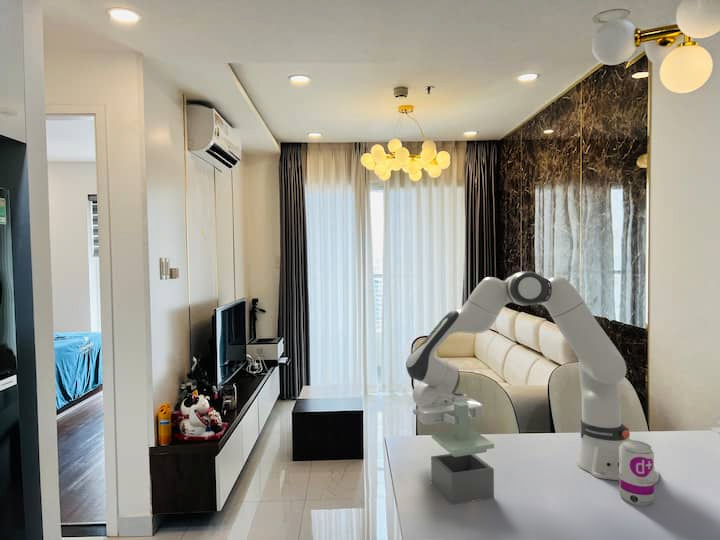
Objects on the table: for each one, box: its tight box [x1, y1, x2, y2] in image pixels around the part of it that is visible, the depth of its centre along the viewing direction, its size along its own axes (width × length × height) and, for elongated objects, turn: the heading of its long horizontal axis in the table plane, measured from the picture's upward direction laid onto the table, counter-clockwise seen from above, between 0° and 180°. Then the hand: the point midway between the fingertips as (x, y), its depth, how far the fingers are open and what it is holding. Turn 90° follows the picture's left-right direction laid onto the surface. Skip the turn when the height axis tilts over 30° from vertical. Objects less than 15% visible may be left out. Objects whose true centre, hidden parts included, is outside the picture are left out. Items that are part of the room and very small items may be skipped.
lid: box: [431, 402, 495, 457], centre depth 135 cm, size 13×13×13 cm
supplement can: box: [618, 439, 655, 507], centre depth 129 cm, size 8×8×15 cm
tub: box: [430, 453, 495, 505], centre depth 135 cm, size 13×13×8 cm
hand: (462, 420), depth 134 cm, fingers closed on lid, 3 cm apart
